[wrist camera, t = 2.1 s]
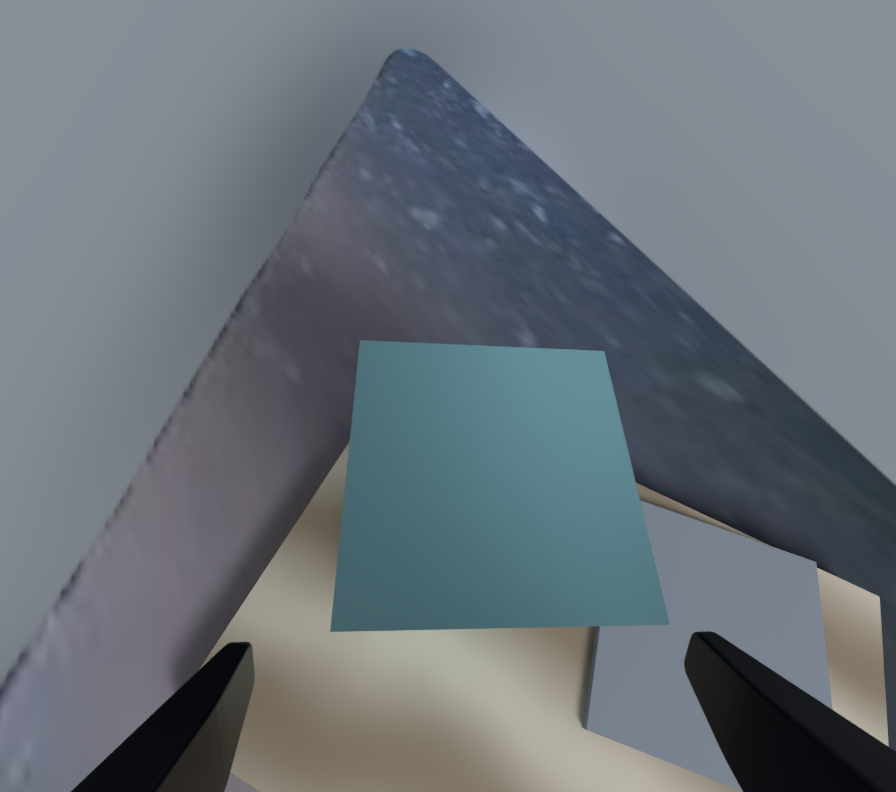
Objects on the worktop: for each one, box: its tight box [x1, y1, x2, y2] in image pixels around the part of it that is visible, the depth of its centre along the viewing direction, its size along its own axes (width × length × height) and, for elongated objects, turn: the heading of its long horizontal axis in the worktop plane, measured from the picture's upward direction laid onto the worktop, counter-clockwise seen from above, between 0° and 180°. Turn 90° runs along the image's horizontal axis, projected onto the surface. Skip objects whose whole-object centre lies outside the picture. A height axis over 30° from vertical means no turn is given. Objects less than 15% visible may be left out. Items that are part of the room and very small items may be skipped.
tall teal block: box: [330, 340, 670, 632], centre depth 13 cm, size 5×5×11 cm
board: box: [199, 443, 889, 792], centre depth 16 cm, size 16×24×3 cm, turn 64°
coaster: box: [582, 500, 833, 791], centre depth 17 cm, size 9×9×1 cm
